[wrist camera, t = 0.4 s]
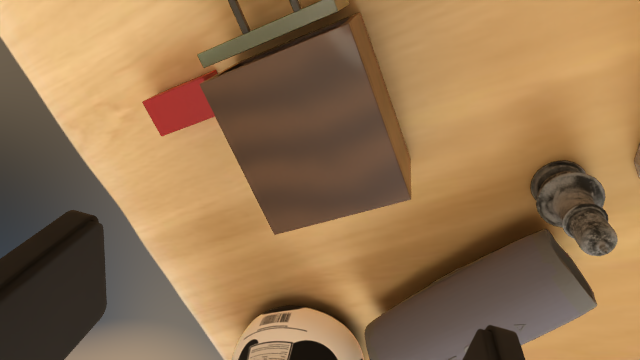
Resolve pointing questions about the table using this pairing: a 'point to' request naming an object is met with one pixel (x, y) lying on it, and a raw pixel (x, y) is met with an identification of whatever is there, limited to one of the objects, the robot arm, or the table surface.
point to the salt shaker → (574, 205)
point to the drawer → (270, 29)
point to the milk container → (297, 337)
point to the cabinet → (314, 128)
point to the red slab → (180, 106)
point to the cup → (638, 161)
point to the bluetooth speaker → (485, 303)
